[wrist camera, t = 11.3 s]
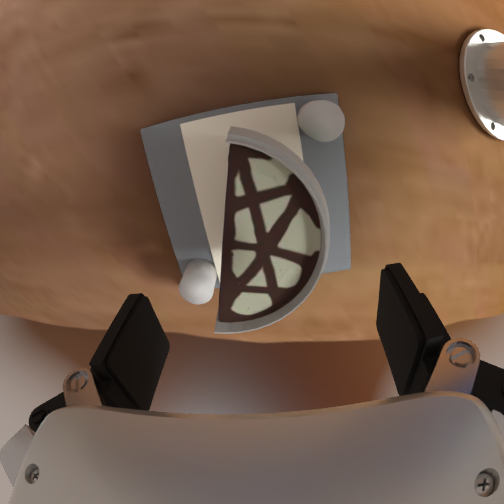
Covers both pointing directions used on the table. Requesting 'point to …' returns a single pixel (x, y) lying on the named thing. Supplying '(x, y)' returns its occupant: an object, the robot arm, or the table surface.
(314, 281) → the food container
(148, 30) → the table surface
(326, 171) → the board
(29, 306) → the table surface
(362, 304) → the table surface
